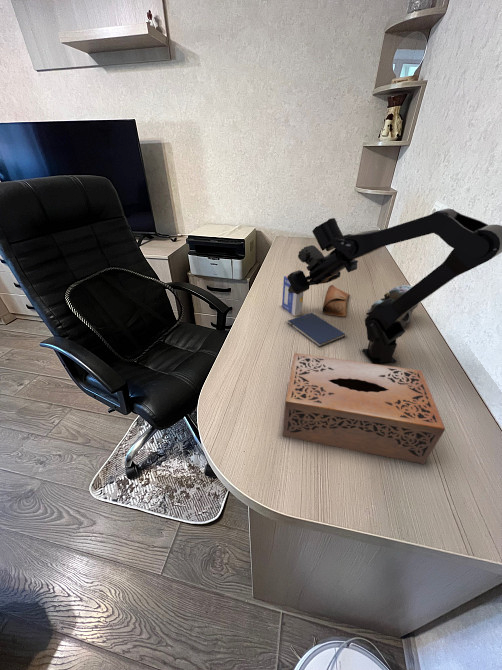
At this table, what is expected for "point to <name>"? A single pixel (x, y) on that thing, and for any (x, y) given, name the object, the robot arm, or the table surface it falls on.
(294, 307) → the walkman
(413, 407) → the tissue box cover
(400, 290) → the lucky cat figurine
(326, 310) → the sunglasses case
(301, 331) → the notebook
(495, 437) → the table surface
